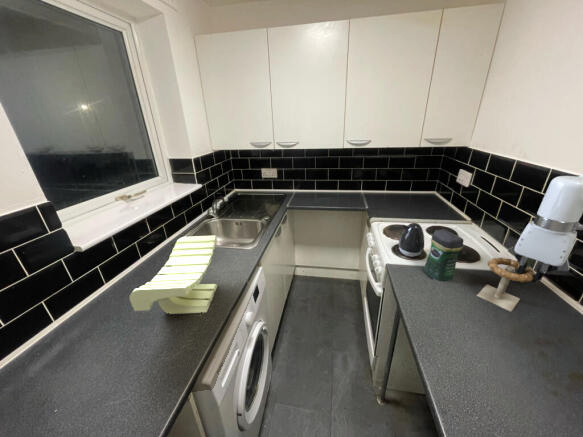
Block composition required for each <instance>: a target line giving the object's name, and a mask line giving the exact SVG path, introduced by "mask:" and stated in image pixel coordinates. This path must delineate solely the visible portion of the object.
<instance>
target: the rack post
mask: <svg viewBox="0 0 583 437" xmlns="http://www.w3.org/2000/svg"><path fill="white" fill-rule="evenodd" d="M505 266H506V267H505V269H504V270H506V271H508V272H511V273H514V272H515V268H514V267H512V266H508V265H505ZM500 278H501V279H500V281H499V283H498V286H497V288H496V287H494V286H491V285H490V284H485V285H484V287H483V288H482V289H481V290H480V291H479V292H478V294H476V297H479V298H480V299H483V300H485V301H487V302H489V303H491V304H494V305H495V306H498V307H500V308H501V309H504V310H506V311H508V312H510V313H512V311H514V308H515V307H516V306H517V304H518V303H519V301H520V300H521V298H519V297H518V296H516V295H515V296H514V295H512V294H510V293H507V292H506V291H507V288H508V286H509V285H510V282H511V280H509V279H506V278H504V277H500Z"/></svg>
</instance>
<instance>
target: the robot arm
mask: <svg viewBox="0 0 583 437" xmlns="http://www.w3.org/2000/svg"><path fill="white" fill-rule="evenodd" d="M582 216H583V173H582V174H580V175H579V176H576V175H575V176H573V175H559V176H556V177H554V178H552V180H551V181H550V183H549V185H548V187H547V190H546V192H545V194H544V196H543V198H542V201H541V203H540V205H539V208H538V211H537V212H536V215H535V216H534V218H533V220H530V221H529V222H528V224H527V225H526V226H525V228H524V229H523V231H522V232H521V234H520V236H519V238H518V240H517V242H516V243H515V244H513V245H512V246H511V247H509V248H508V249H507V253H509V254H510V255H512V256H513V257H514V258H515V260H516V261H517V260H518V262H519V264H520V265H519V268H518V270H517V272H518V273H519V274H524V272H525V270H526V268H527V266H528V264H527V263H528V262H527V260H528V258H531V259H534V260H533V261H537V262H540V263H542V265H541V266H540V267H538V269H537V270H536V272H535V276H534V278H533V280H532V281H531V283H533V284H536V283H537V281H539V282H541V280H542V279H543V277H544V274H546V273H550V272H555V271H558V272H569V271H570V268H571V267H570V262H569V259H568V258H569V256H570V255H571V252H572V250H573V247H574V245H575V243H576V240H577V237H578V232H577V231H583V224H582V223H580V219H581V218H582Z"/></svg>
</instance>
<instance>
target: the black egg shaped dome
mask: <svg viewBox="0 0 583 437" xmlns="http://www.w3.org/2000/svg"><path fill="white" fill-rule="evenodd" d="M401 228H403V229H404V230H403V231H402V233H401V235H400V238H399V240H398V244H397V245H398V249H399V251H400V252H401V253H402V254H403V255H404V256H406V257H409V258H410V257H411V258H414V257H418V256H420V255H421V253H422V252H423V251H424V249H425V234H424V230H423V228H422V226H421V225H420V224H419V223H417V222H411V223H409V224H408V225H405V224H401Z"/></svg>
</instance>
